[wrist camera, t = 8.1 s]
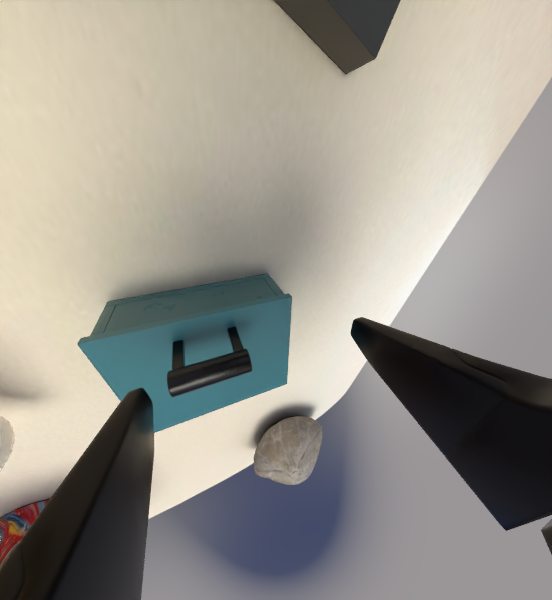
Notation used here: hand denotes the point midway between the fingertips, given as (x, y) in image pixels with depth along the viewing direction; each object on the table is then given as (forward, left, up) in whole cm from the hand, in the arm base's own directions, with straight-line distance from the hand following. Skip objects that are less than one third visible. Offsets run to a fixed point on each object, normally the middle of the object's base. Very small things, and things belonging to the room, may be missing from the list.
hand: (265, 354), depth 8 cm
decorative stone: (+25, -37, -13) cm, 46 cm away
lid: (+1, -9, -8) cm, 12 cm away
